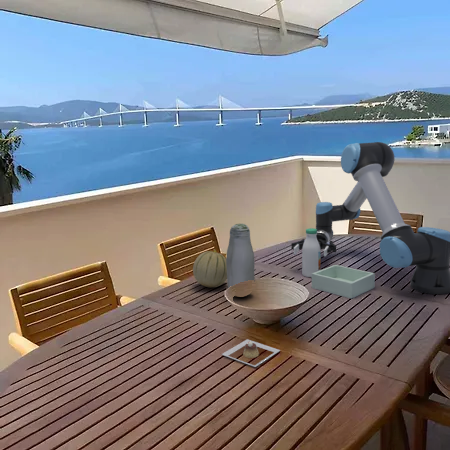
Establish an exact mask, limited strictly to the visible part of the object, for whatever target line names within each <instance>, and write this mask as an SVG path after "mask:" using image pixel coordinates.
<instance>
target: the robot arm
mask: <svg viewBox="0 0 450 450" xmlns="http://www.w3.org/2000/svg"><path fill="white" fill-rule="evenodd" d="M394 165H395V153H394V151H393V148H391V147H390V145H389V144H387V143H385V142H382V141H381V142H380V141H376V142H375V141H374V142H360V143H359V142H355V143H349V144H347V145H346V146H345V147H344V149H343V150H342V152H341V156H340V166H341V169H342V170H343V173H346V174H351V176H352V178H353V180H354V181H356V182H357V183H356V184H355V185H354V187H353V188H352V190H351V192H350V193H348V195H347V197H346V198H345V200H344V201H343V203H342V204H339V205H337V204H336V205H333V203H332V202H329V201H322V202H321V201H320V202H317V203H316V205H315V206H316V207H315V229H317V235H316V237H317V240H318V242H319V245H320V251H322V250H323V257H327V256H328V254H330V253H332V252H333V253H337V245H336V244H335V243H334V241H333V240H332V239H333V237H334V230H333V222H340V221H341V222H342V221H353V220H356V219H358V218H359V217H361V211H362V210H361V207H362V206H363V204H364V203H365V201H366V200H367V202H368V203H369V206H370V209H371V210H372V212H373V214H374V217H375V219H376V220H377V224H378V226H379V228H380V230H381V232H382V235H381V236H380V242H379V255H380V256H381V259H382V260H383V261H384V263H385V264H386V265H388V266H389V267H392V268H395V269H398V268H408V267H413V266H415V269H414V272H413V274H412V277H411V278H410V288H412V289H413V290H414V291H417V292H419V293H425V294H430V295H431V294H432V295H445V294H450V231H448V230H446V229H442V228H436V227H428V226H420V227H418V228H417V232H414V230H413V228H412V226H411V224H407V223H405V221H404V220H403V219H404V218H403V217H402V215H401V213H400V210H399V208H398V207H397V205H396V202H395V201H394V198H393V196H392V194H391V192H390V190H389V188H388V186H387V183H386V182H385V180H384V177H385V178H386V177H387V176H388V174H389V173H390V172H391V171H392V169H393V167H394ZM305 239H306V238H305ZM305 239H304V238H302V239H301V240H297V241H295V242H292V243H291V244H290V245H291V246H290V247H291V250H293V251H292V252H293V255H296V254H298V252H299V251H300V250H302V248H303V244H304V242H305Z"/></svg>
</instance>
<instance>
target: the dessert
mask: <svg viewBox="0 0 450 450" xmlns="http://www.w3.org/2000/svg"><path fill="white" fill-rule="evenodd" d="M243 347H244V350H243V353H242V355H243V357H245V358H247V359H248V358H249V359H254V358H257V357H259V356H260V352H259V349H258V348H260V349H264V350H267V351H269V352H272V354H270V355H268V356H267V357H265V358H264V359H262V360H260V361H259V362H258V363H256V364H255V365H254V364H252V363H248V362H246V361H243V360H240V359H237V358H235V357H232V356H231V354H234V353H235V352H237V351H239V350H240V349H242V348H243ZM280 351H281V350H280V349H277V348H274V347H271V346H268V345H266V344H263V343H259V342H257V341H253V340H250V339H248V338H247V339H245V340H244V341H241V342H240V343H239V344H237V345H235V346H232V348H229V349H228V350H226V351H225V352H223V353H221V356H224V357H226V358H230V359H232V360H234V361H237V362H240V363H243V364H245V365H249V366H250V367H254V368H256V367H258V366H260V365H261V364H262V363H264V362H265V361H267V360H269V359H270V358H271V357H273V356H274V355H276V354H277V353H279V352H280Z"/></svg>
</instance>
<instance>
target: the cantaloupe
mask: <svg viewBox="0 0 450 450" xmlns="http://www.w3.org/2000/svg"><path fill="white" fill-rule="evenodd" d="M192 272H193V276H194V278H195V281H196V282H197V283H198V284H199V285H202V286H204V287H206V288H217V287H219V286H221V285H223V284H224V283H226V282H227V266H226V256H225V255H223V254H221V253H220V252H217V250H216V249H215V248H213V251H210V250H209V251H204V252H201V253H200V254H199V255H198V256H197V257H196V259H195V261H194V262H193V267H192Z"/></svg>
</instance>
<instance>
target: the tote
mask: <svg viewBox="0 0 450 450" xmlns="http://www.w3.org/2000/svg"><path fill="white" fill-rule="evenodd" d="M375 277H376V273H375V272H371V271H366V270H361V269H356V268H352V267H348V266H343V265H340V264H339V265H338V264H333V265H331V266H328V267H326V268H323V269H321V270H320V271H317V272H315V273H312V277H311V289H314V290H318V291H322V292H326V293H329V294H333V295H337V296H340V297H344V298H348V299H354V298H356V297H358V296H360V295H363V294H364V293H366V292H368V291H371V290H373V289H375V282H376V281H375V279H376V278H375Z"/></svg>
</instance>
